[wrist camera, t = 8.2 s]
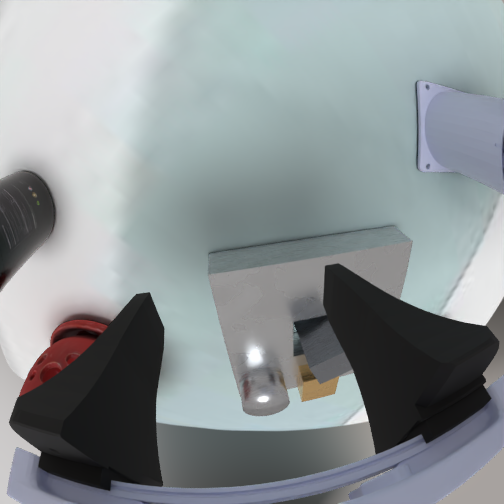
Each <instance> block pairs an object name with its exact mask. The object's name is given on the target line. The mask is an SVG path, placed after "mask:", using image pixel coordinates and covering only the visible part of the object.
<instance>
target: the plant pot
mask: <svg viewBox="0 0 504 504" xmlns="http://www.w3.org/2000/svg"><path fill="white" fill-rule="evenodd" d="M107 327H108V326H107V325H104V324H101V323H98V322H94V321H89V320H72V321H68V322H65V323H63V324H61V325H60V326H58V327H57V328H56V329H55V330H54V332H53V333H52V336H51V340H50V345H51V346H50V347H49V348H47V349H46V350H45V351H44V352H43V353H42V354H41V356H40V357H39V358H38V359H37V361H36V362H35V364H34V365H33V367H32V368H31V370H30V372H29V373H28V376H27V378H26V380H25V382H24V385H23V387H22V389H21V392H20V395H19V396H21V395H23V394H25V393H27V392H29V391H31V390H33V389H35V388H36V387H38V386H40V385H41V384H43V383H45V382H46V381H48V380H49V379H51V378H52V377H54V376H55V375H56V374H58V373H59V372H60V371H62V370H63V369H64V368H65V367H67V366H68V365H69V364H70V363H72V362H73V361H74V360H75V359H77V358H78V357H79V356H80V355H81V354H82V353H83V352H84V351H85V350H86V349H87V348H88V347H89V346H90V345H91V344H92V343H93V342H94V341H95V340H96V339H97V338H98V337H99V336H100V335H101V334H102V333H103V331H104V330H105V329H106V328H107Z"/></svg>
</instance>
